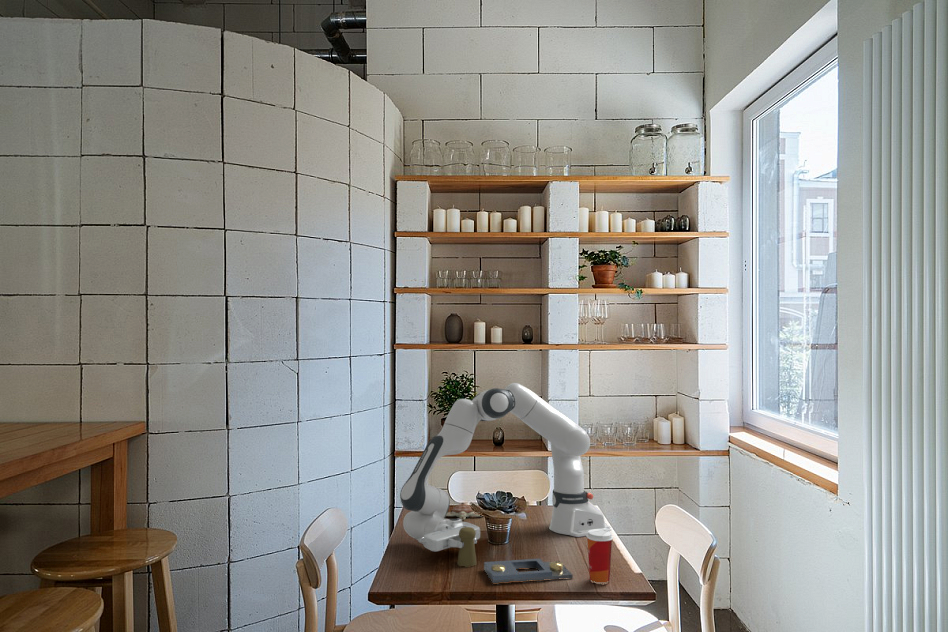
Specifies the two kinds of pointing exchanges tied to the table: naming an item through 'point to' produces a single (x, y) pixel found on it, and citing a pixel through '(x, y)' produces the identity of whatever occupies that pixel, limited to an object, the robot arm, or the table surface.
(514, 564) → the slotted plate with knobs
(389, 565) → the table surface
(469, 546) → the olive green pepper mill
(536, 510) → the table surface
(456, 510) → the decorative turtle
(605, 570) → the paper cup
